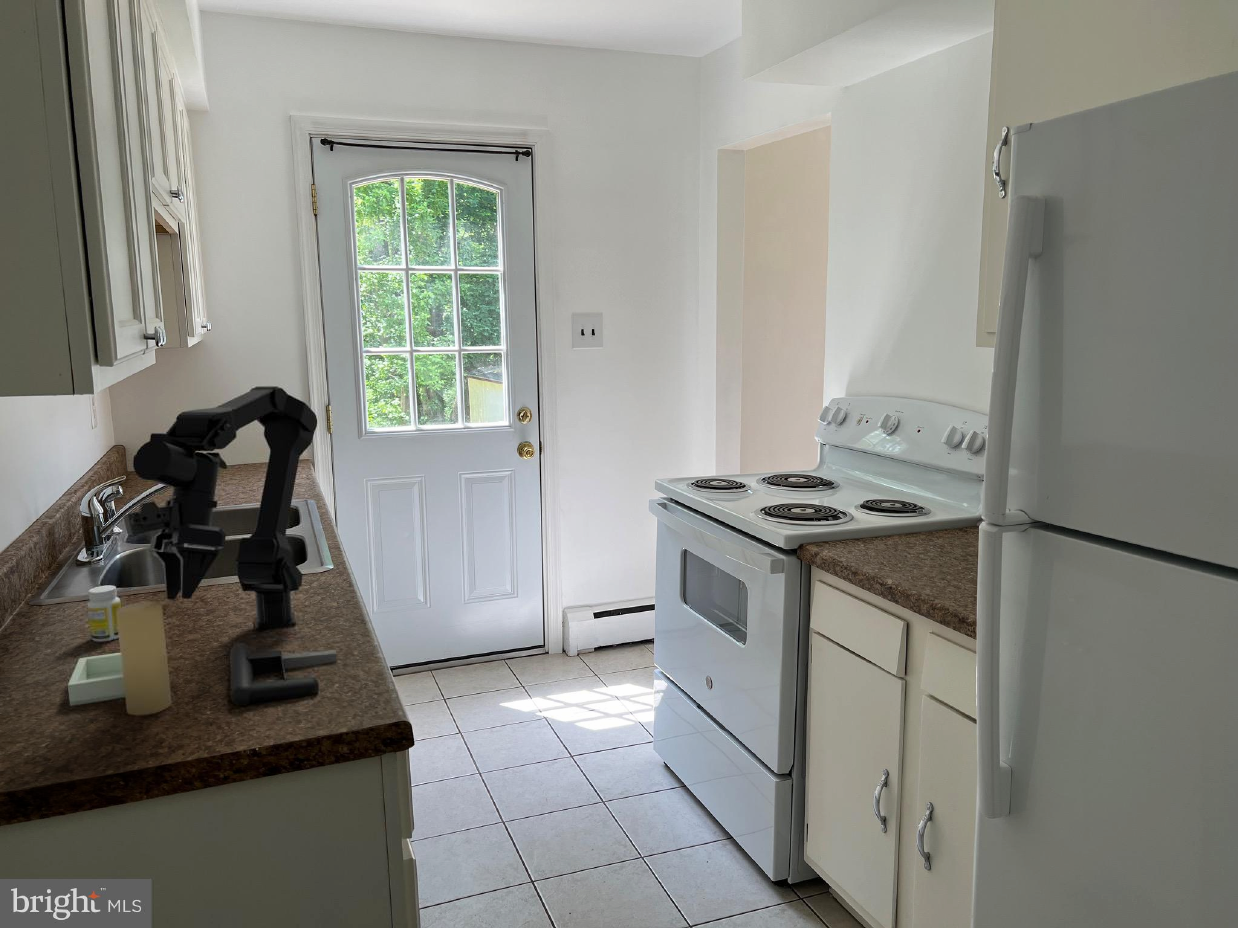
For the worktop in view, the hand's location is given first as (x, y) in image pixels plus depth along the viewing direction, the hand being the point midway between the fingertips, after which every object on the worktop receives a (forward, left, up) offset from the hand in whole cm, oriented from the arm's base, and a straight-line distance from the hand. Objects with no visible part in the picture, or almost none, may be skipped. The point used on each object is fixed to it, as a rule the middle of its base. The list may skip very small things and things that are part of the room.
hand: (178, 599), depth 130 cm
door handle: (+5, +13, -13) cm, 19 cm away
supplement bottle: (-25, -13, -12) cm, 31 cm away
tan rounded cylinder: (+9, -4, -12) cm, 16 cm away
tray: (-1, -9, -12) cm, 15 cm away
